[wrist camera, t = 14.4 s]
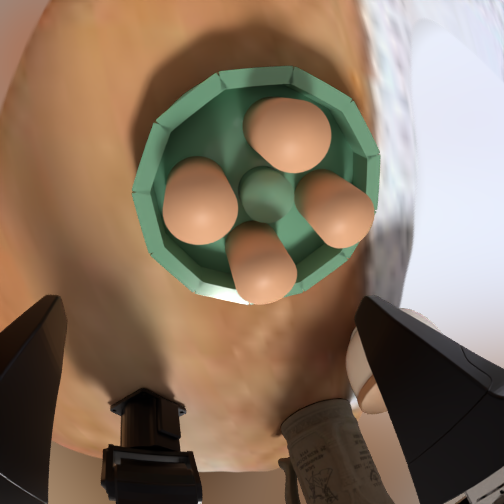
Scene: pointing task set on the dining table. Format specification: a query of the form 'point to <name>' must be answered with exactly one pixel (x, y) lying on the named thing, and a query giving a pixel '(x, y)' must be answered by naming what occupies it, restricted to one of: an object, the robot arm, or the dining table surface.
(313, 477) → the beer stein
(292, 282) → the bead
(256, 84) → the ring tray
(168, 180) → the bead
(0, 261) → the dining table surface
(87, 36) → the dining table surface
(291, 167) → the bead
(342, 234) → the bead
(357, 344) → the lidded jar
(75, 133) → the dining table surface
